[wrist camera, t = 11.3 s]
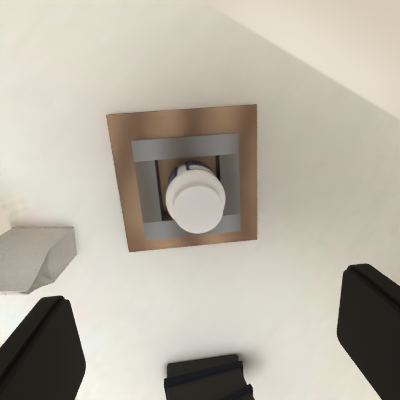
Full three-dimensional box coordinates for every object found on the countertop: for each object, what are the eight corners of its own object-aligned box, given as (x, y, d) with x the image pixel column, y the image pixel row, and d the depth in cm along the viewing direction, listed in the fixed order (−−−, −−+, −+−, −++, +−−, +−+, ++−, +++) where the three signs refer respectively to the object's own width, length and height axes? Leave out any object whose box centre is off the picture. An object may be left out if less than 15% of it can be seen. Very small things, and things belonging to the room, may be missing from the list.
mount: (253, 105, 28) (265, 101, 24) (254, 235, 32) (265, 250, 28) (109, 115, 27) (96, 113, 23) (130, 247, 32) (123, 265, 28)
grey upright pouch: (14, 226, 30) (-64, 273, 20) (73, 227, 30) (24, 273, 21) (19, 254, 31) (-53, 311, 21) (76, 254, 31) (31, 310, 22)
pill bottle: (183, 213, 30) (184, 253, 20) (159, 174, 28) (149, 198, 19) (223, 191, 29) (243, 222, 20) (201, 151, 28) (212, 163, 18)
